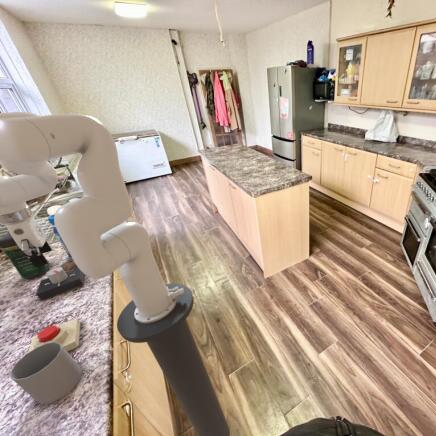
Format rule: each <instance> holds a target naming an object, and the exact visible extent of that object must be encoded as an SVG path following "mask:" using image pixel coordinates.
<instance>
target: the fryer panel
mask: <svg viewBox="0 0 436 436" xmlns="http://www.w3.org/2000/svg"><path fill="white" fill-rule="evenodd" d="M65 273H66V274H67V276H68V277H67V279H65V280H64V281H62V282H60V283H56V284H53V283H52V282H51V280H50V279H49V278H48V277H47V278H43V279H41V280H40V282H39V285H38V287H37V291H36V293H35V295H36V296H37V298H38V299H39V300H40V301H44V300H46V299H49V298H52V297H55V296H57V295H60V294H62V293H66V292H68V291H71V290H73V289H76V288H79V287H81V286H84V284H85V274H84V273H83V272H82V271H81V270H80V269H79V268H78V267H77V268H73V269H71V270H67V271H65Z"/></svg>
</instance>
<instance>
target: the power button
mask: <svg viewBox="0 0 436 436" xmlns="http://www.w3.org/2000/svg"><path fill="white" fill-rule="evenodd" d="M55 325H56V324H53V325H49V326H47V327H45V328H44V329H42V330H41V331H40V332H39V333H38V334H37V335H38V336H37V337H38V339H39V340H40V341H41V342H47V341H49V340H52V339H53V338H54V337H56V336H57V335H58V334H59V333H60V330H59V329H58V327H57V326H55Z"/></svg>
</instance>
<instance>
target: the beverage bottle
mask: <svg viewBox="0 0 436 436" xmlns="http://www.w3.org/2000/svg"><path fill="white" fill-rule="evenodd" d="M54 215H55V213H54V214H51V215H49V216H48V217H47V220H48V222H49V224H50V225H51V226H52V227H53V228H52V232H53V234H54V235H55V238H56V241H58V242H59V243H60V245H61V247H62V248H63V249H64V251H65V253H66V255H67V257H68V258H69V259H70V260H71V259H72V260H73V258H72V256H71V255H70V253H69V251H68V249H67V247H66V245H65V244H64V242H63V240H62V238H61V236H60V235H59V233H58V231H57V229H56V226H55V223H54Z"/></svg>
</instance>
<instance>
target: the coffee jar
mask: <svg viewBox="0 0 436 436" xmlns="http://www.w3.org/2000/svg"><path fill="white" fill-rule="evenodd" d="M32 247H35V246H32ZM30 248H31V247H30ZM0 250H1V251H2V252H3V253H4V254H5V255H6V257H7V258H8V259H9V261H10V262H11V264H12V265H13V266H14V269H16V271H17V273H18V274H19V275H20V277H21V278H22V279H25V280H26V279H33V278H37V277H39V276H40V275H43V274H45V273H47V272H48V270H49V268H50V264H51V263H50V262H49V260H48V259H47V258H46V256H45V254H43V256H44V257H45V259H46V260H47V262H48V264H46V265H42V266H39V267H35V266H34V265H33V264H32V262H31V261H30V259H29V258H28V257H27V256H26V255H25V253H24V252H23V251H22V250H21V249H20V247H19V246H18V245H17V243H16V242H15V240H14V239H13V237H12V236H11V234H10V232H9V231H7V233H6V234H4V235H3V236H2V237H0ZM31 251H34V252H36V251H35V249H34V250H31Z"/></svg>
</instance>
